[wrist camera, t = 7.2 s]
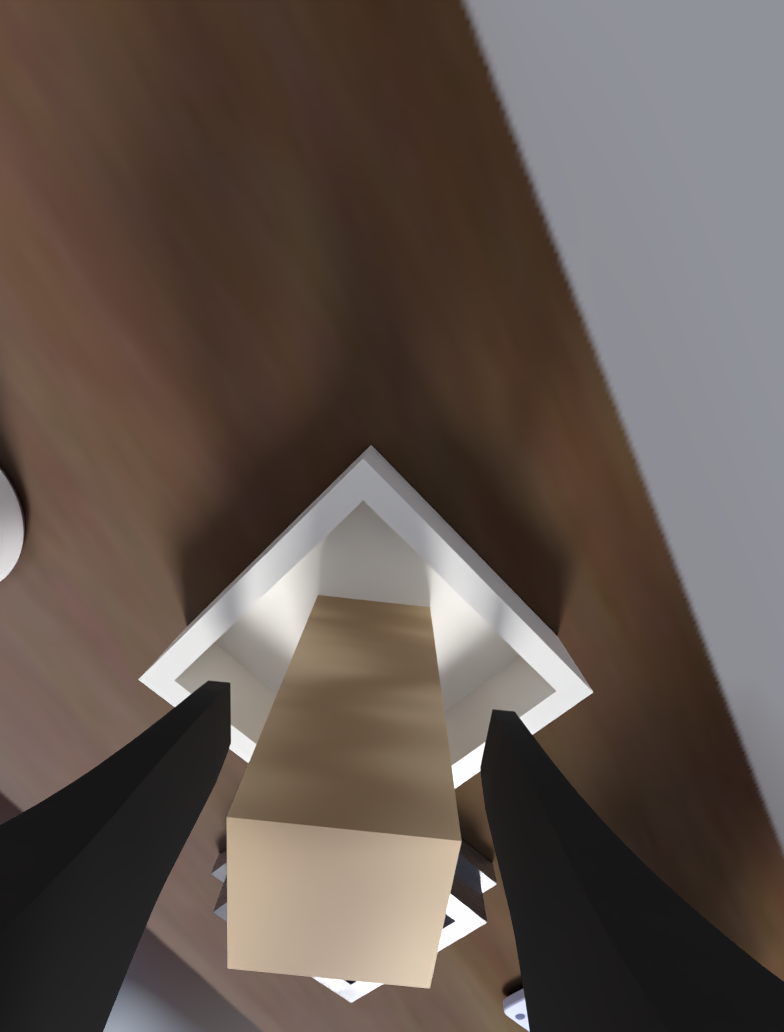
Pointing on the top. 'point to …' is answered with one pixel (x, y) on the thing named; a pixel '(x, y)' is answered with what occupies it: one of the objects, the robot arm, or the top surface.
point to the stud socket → (459, 920)
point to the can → (10, 525)
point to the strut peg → (347, 806)
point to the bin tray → (384, 578)
